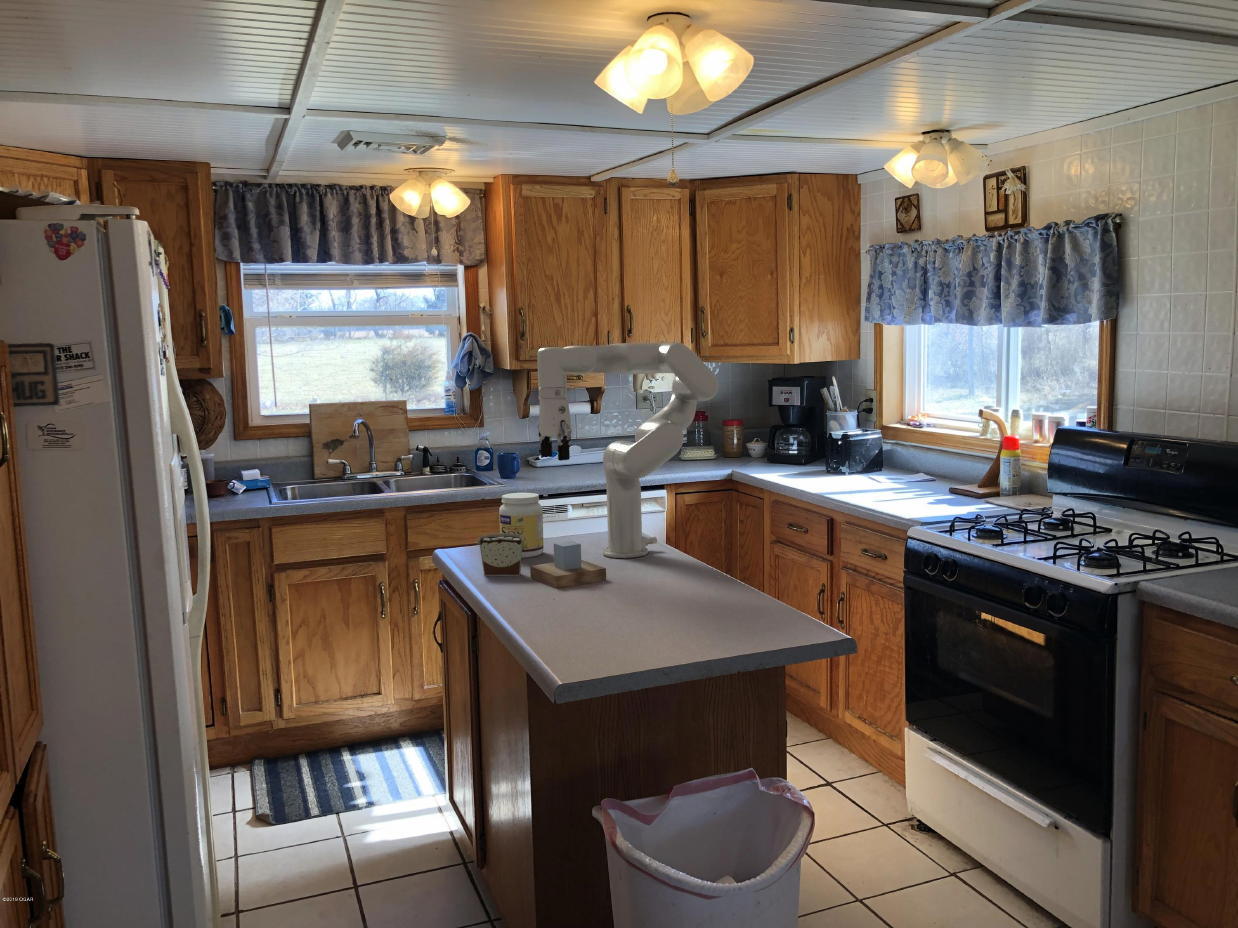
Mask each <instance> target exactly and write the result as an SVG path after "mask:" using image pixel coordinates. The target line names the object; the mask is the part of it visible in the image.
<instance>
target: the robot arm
mask: <svg viewBox="0 0 1238 928" xmlns="http://www.w3.org/2000/svg"><path fill="white" fill-rule="evenodd" d="M536 354H537V356H536V357H537V382H538V383H537V384H538V401H539V409H538V410H539V411H538V412H539V413H538V417H539V419H538V424H537V432H538V438H539V442H540V457H541V458H552V456H553V442H552V441H551V440H552V438H555V439H556V440H557V443H558V445H557V459H558V461H561V462H562V461H570V458H571V455H570V445H571V439H572V432H573V429H572V421H571V413H570V405H569V400H568V387H567V386H568V383H567V382H568V381H567V380H568V379H567V374H569V375H571V374H574V375H586V374H594V373H595V374H613V375H645V374H646V375H647V374H648V375H649V374H674V375H675V376H674V378H673V381H672V383H671V397H670V401H668V403H667V405H665V406H664V407H663V408H662V409H661V410H659V411H658V412H657V413H656V414H654V415H652V417H650V418H649V419H647V420H646V421H644V422H643V423H642V424H641V425H640V426H638V428H637V429H636V431H635V434H634V441H635V442H633V441H628V440H615V441H614V442H611V443H610V444H609V445H608V446H607V447H606V448H605V450H604V452H603V456H602V465H603V471H604V477H605V483H606V484H605V486H606V487H605V488H606V510H607V511H606V512H607V517H606V518H607V547H605V548H603V549H602V555H603V556H605V557H607V558H615V559H630V558H632V559H633V558H639V557H644V556H646V555H648V552H649V549H648V548H647V546H648V545H655V544H658V539H657V537H656V536H650V537H648V536H644V535H643V526H642V525H643V522H642V521H643V520H642V487H641V481H640V479H643V478H645V477H648V476H649V475H651V474H652V473H653V472H655V471H656V470H657V469H658V468H660V467H661V466H663V464H665V463H666V462H667V461H669V460H670V459H671V458H673V457H674V456H676V454H678V452H679V451H680V450H681V448H682V446H683V445H684V444H683V443H684V431H685V430H686V429H687V428H689V426H690V425H691V424H692V423H693V421H694V419H695V415H696V411H697V404H698V403H697V402H698V401H700V402H705V401H709V400H712V399H713V398H715V396H716V395H717V393H718V390H719V384H720V383H719V379H718V378H717V375H716V374H715V373H714V372H713V371H712V369H711V368H710V367H708V366H707V365H706V363H705V362H704V361H703V360H702V359H701V358H700V357H699V356H697V354H696V353H694V351H692V349H690V348H689V347H688V346H687V345H685V344H684V343H681V342H677V341H676V342H626V343H624V342H622V343H613V344H605V345H603V344H601V345H568V346H564V347H560V346H558V347H557V346H553V347H552V346H550V347H541V348H539V349H538V351H537V353H536Z"/></svg>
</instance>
